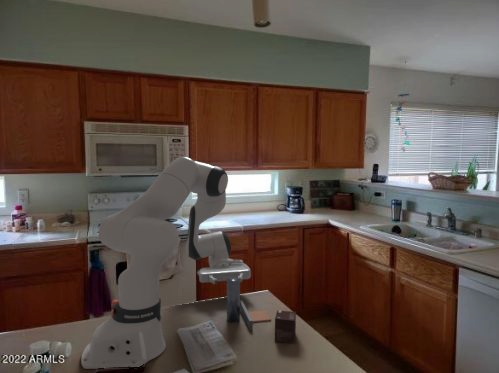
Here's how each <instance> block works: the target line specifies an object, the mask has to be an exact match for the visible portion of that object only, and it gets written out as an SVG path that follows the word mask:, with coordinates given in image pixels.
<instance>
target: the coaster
mask: <svg viewBox="0 0 499 373" xmlns="http://www.w3.org/2000/svg"><path fill="white" fill-rule="evenodd" d="M248 313H249V315H250V316H251V318H252V320H253V323H262V322H272V319H271V317H270V315H269V314H268V312H267V311H266V309H265V310H255V311H248Z"/></svg>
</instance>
